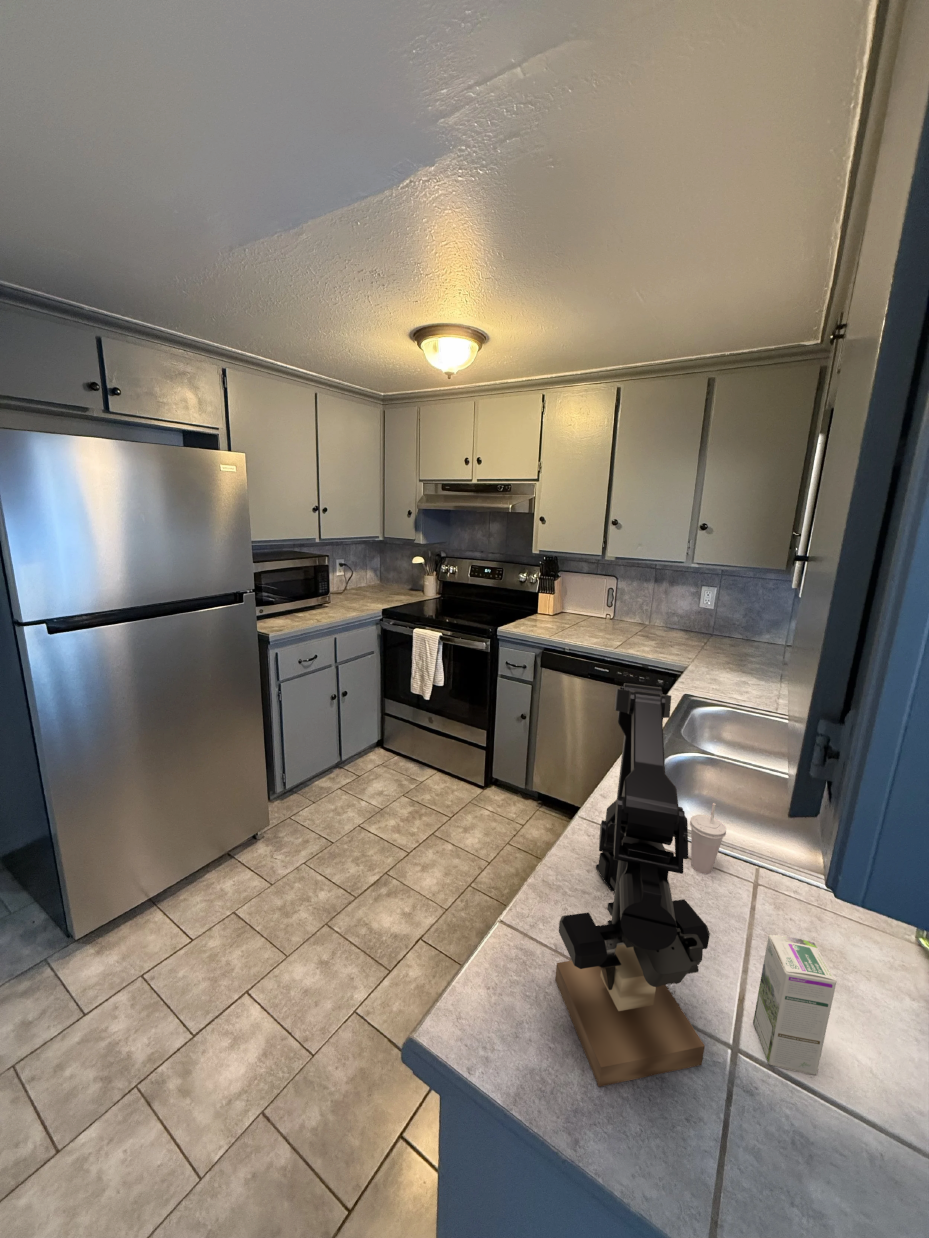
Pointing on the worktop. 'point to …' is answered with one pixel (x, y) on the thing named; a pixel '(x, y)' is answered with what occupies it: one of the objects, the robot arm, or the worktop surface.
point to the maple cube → (629, 982)
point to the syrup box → (793, 1004)
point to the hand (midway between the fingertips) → (626, 983)
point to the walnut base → (626, 1029)
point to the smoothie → (705, 841)
